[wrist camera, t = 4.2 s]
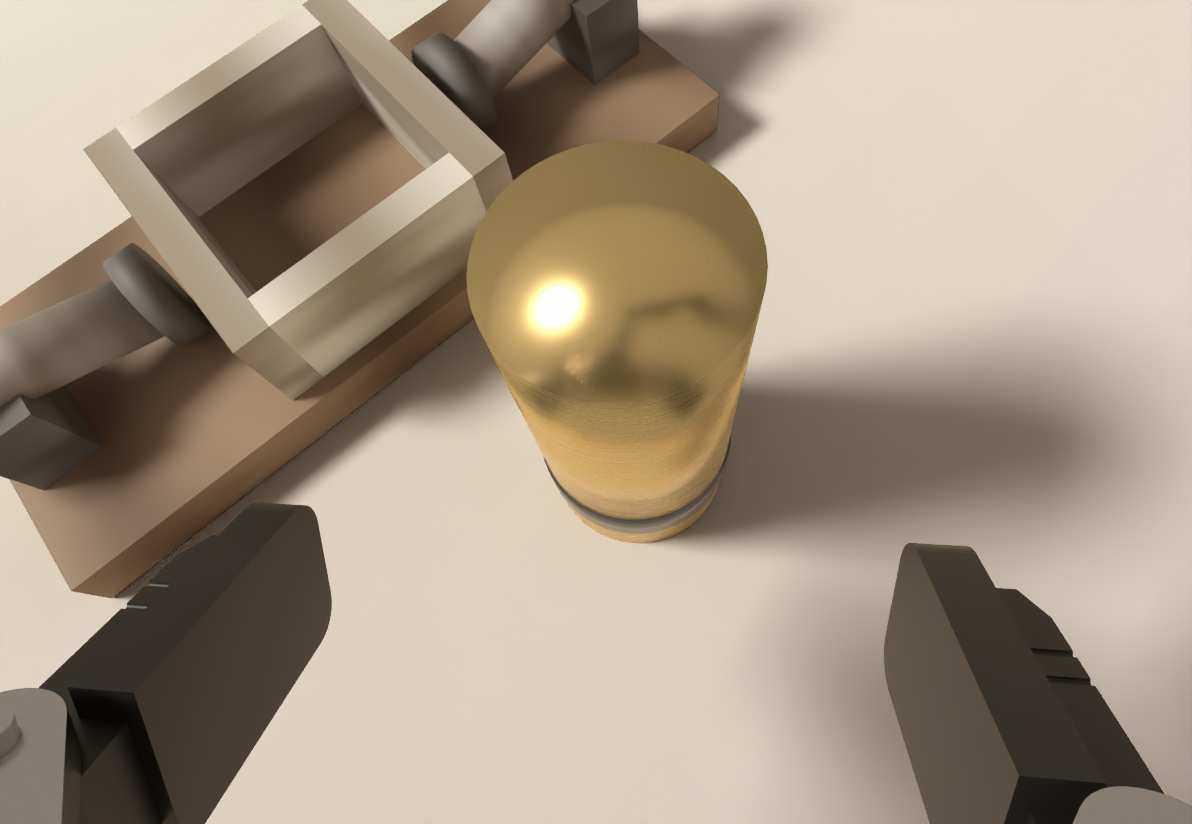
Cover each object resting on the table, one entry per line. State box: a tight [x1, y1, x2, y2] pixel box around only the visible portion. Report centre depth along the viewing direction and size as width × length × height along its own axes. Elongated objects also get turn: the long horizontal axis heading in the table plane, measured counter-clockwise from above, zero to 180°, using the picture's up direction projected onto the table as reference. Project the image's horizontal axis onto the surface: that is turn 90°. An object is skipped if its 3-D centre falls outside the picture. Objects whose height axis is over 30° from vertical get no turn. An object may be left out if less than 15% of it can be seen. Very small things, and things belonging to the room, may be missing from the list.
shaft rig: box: [0, 0, 720, 598], centre depth 21 cm, size 24×9×6 cm, turn 130°
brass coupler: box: [466, 140, 768, 543], centre depth 16 cm, size 4×4×10 cm
